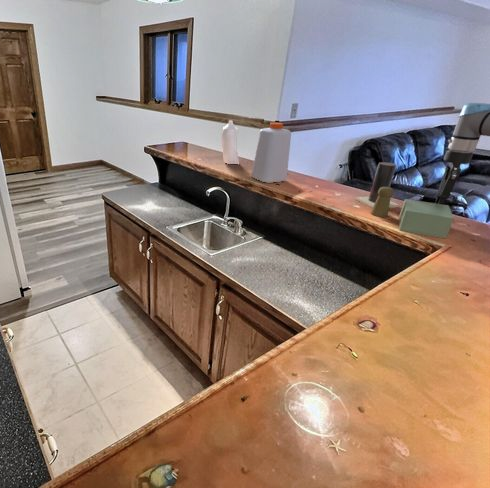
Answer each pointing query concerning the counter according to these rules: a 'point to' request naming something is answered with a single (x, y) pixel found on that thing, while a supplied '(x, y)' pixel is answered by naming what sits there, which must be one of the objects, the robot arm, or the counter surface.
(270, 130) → the plastic bottle
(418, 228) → the green beveled box
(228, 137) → the pale pink bottle
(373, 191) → the dark brown rectangular block
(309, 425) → the counter surface
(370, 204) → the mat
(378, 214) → the olive pawn shaped piece
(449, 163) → the robot arm
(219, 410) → the counter surface
